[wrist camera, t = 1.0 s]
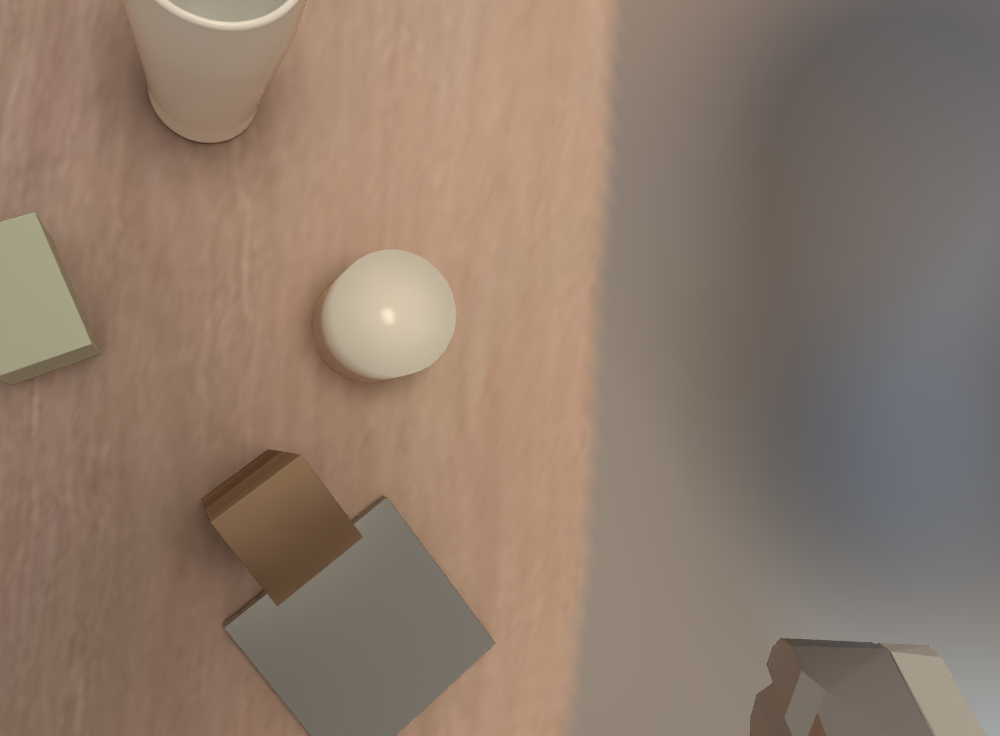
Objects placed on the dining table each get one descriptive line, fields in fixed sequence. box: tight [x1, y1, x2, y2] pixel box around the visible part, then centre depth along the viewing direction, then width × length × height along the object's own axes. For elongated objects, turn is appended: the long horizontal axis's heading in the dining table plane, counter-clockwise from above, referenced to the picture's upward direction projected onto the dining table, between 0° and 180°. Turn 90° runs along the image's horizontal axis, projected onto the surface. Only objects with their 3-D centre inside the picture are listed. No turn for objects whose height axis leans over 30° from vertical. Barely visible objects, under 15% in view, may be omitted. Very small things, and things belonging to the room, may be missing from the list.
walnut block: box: [201, 450, 363, 607], centre depth 37 cm, size 4×4×12 cm
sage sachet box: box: [0, 212, 101, 385], centre depth 38 cm, size 6×4×5 cm, turn 23°
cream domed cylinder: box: [312, 250, 456, 383], centre depth 43 cm, size 6×6×6 cm
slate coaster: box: [223, 496, 495, 736], centre depth 44 cm, size 10×10×1 cm
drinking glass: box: [123, 0, 306, 143], centre depth 37 cm, size 7×7×15 cm
